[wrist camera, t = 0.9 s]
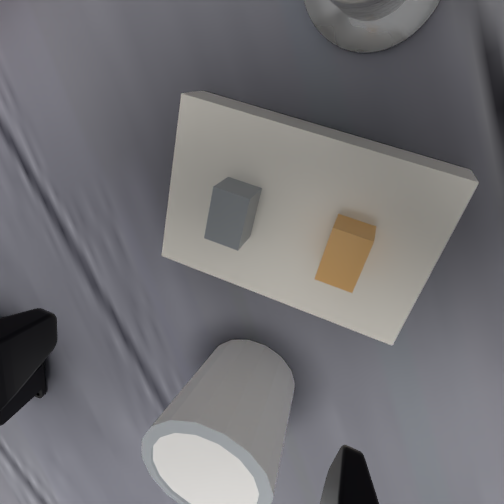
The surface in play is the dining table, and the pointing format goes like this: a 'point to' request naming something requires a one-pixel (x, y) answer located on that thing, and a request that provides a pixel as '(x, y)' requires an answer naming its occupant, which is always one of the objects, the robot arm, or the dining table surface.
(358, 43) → the post
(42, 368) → the robot arm
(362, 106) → the dining table surface
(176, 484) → the grey cylinder
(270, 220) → the panel
